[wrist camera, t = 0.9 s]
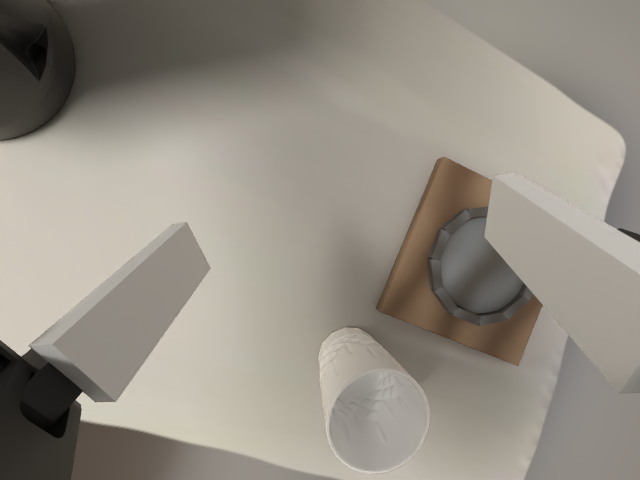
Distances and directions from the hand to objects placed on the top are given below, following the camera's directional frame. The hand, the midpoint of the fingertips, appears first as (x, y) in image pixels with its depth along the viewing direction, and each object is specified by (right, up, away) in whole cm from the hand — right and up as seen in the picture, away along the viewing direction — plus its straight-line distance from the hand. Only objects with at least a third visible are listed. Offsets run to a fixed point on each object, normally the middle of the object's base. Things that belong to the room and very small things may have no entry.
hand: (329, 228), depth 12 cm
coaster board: (+18, -3, +19) cm, 26 cm away
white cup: (+3, -13, +18) cm, 22 cm away
